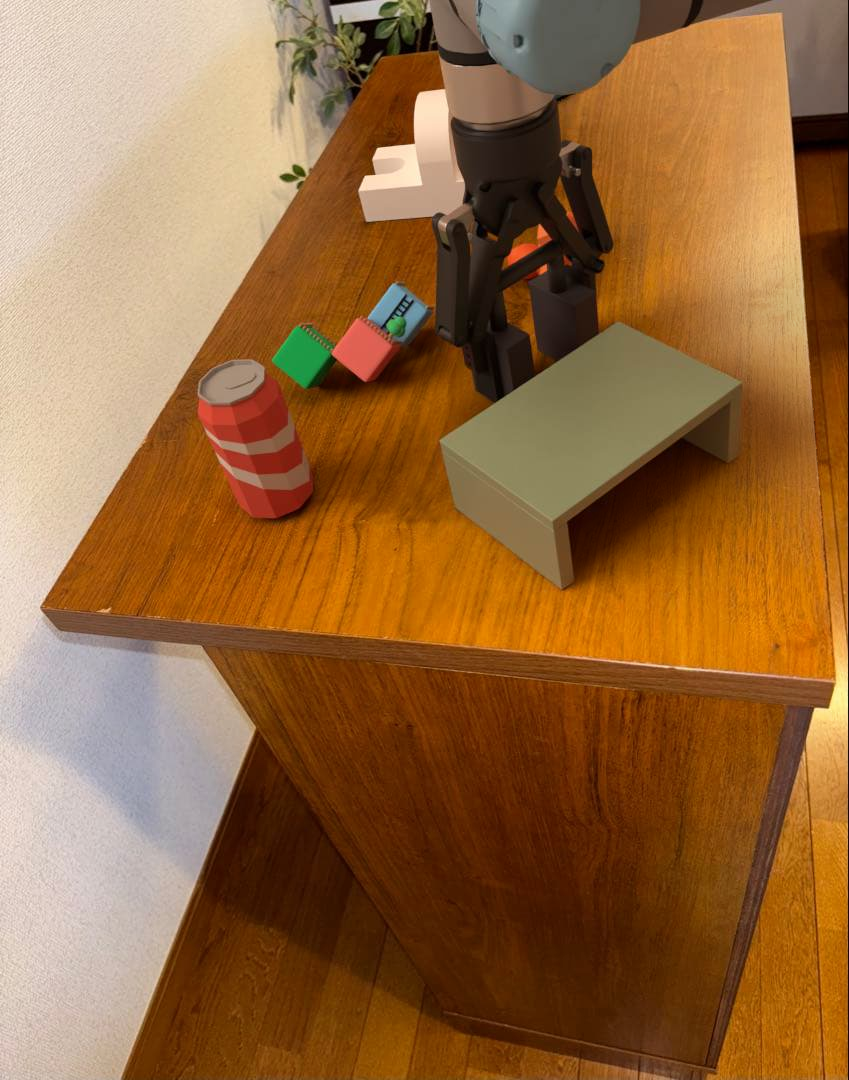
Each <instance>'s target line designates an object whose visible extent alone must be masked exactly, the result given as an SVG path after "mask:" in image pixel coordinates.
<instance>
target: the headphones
mask: <svg viewBox="0 0 849 1080" xmlns="http://www.w3.org/2000/svg"><path fill="white" fill-rule="evenodd" d="M562 250H563V247H562V244H561V242H559V241H558V240H550V241H549V242H547V243H545V244H544V245H542V246H540V247H539V248H537V249H535V250H534V251H532V252H530V253H529V254H527V255H526V256H524V257H522V258H521V259H519V260H517V261H516V262H514V263H512V264H511V265H509V266H508V265H507V266H506V267H504V268H502V270H501V274H500V278H499V282H498V286H497V290H496V294H495V298H494V302H493V306H492V310H491V314H490V318H489V322H488V326H487V330H486V331H487V332H489V333H491V334H492V335H494V336H495V344H496V350H497V356H498V362H499V368H500V374H501V380H502V386H503V392H504V397H505V396H507V395H508V394H510V393H511V392H513V391H514V390H516V389H517V388H519V387H520V386H522V385H523V384H525V383H526V382H528V381H529V380H531V379H532V378H534V377H535V376H536V370H535V364H534V363H535V362H534V355H533V349H532V340H531V334H530V333H528V332H527V331H525V330H523V329H521V328H519V327H517V326H516V325H513V324H512V323H510V322H509V321H508V316H507V310H506V305H505V304H506V303H505V297H504V291H506V290H507V289H509V288H510V287H511V286H513V285H515V284H517V283H518V282H520V281H521V280H524V279H523V278H524V277H526V276H528V275H529V274H531V273H533V272H534V271H536V270H537V269H539V268H541V267H542V266H544V265H545V264H547V271H546V272H544V273H542V274H541V275H538V276H537V277H535V278H532V279H530V280H529V281H528V289H529V296H530V297H529V298H530V305H531V312H532V321H533V328H534V334H535V342H536V350H537V351H538V352H540V353H542V354H544V355H545V356H548V357H549V358H551V359H553V360H554V361H556V362H558V361H559V360H561V359H562V358H564V357H565V356H567V355H568V354H570V353H571V352H573V351H574V350H576V349H577V348H579V347H580V346H582V345H583V344H585V343H586V342H588V341H589V340H591V339H592V338H594V337H595V336H597V335H598V334H600V327H599V314H598V299H597V290H596V291H594V290H592V289H590V288H588V287H586V286H583V285H581V284H579V283H577V282H575V281H573V280H571V279H569V278H567V277H566V276H565V266H564V256H563V252H562ZM471 376H472V382H473V385H474V391H476V392H477V393H479V392H478V391H477V385H476V380H475V375H474V372H473V371H471ZM479 394H480V395H482V394H481V393H479ZM482 396H483V397H485V396H484V395H482ZM490 401H491V402H493V401H492V400H490ZM493 404H495V402H493Z"/></svg>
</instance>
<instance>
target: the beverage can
mask: <svg viewBox="0 0 849 1080" xmlns="http://www.w3.org/2000/svg"><path fill="white" fill-rule="evenodd" d="M197 385H198V386H197V397H198V398H199V401H198V409H197V416H198V418H199V420H200V423H201V424H202V427H203V429H204V431H205V434H206V435H207V437H208V439H209V442H210V444H211V446H212V449H213V451H214V453H215V455H216V457H217V459H218V462H219V464H220V466H221V469H222V470H223V472H224V475H225V477H226V479H227V481H228V483H229V485H230V488H231V490H232V493H233V495H234V496H235V499H236V501H237V503H238V505H239V507H240V508H241V510H243V511H245V512H246V513H247V514H248V515H249V516H251V517H252V518H254V519H278V518H280V517H282V516H285V515H288V514H290V513H291V512H294V511H298V510H299V509H300V508H301V507H302V506H303V505H304V503H306V501H307V500H308V499H309V498H310V496H311V495H312V494H313V493H314V474H313V472H312V469H311V467H310V464H309V460H308V458H307V456H306V453H305V449H304V448H303V445H302V442H301V439H300V437H299V434H298V432H297V428H296V425H295V423H294V421H293V418H292V415H291V412H290V410H289V407H288V404H287V401H286V399H285V397H284V394H283V391H282V389H281V386H280V383H279V381H278V380H277V379H275V378H274V377H273V376H271V375H269V374H268V373H267V372H266V368H265V366H264V365H262V364H260V363H259V362H258V361H255V360H254V359H253V358H252V359H249V358H248V359H246V358H245V359H231V360H229V361H226V362H224V363H221V364H219V365H217V366H214V367H212V368H210V369H209V371H208V372H207V373H206V374H205V375H203V377H201V379H200V380H199V381H198V384H197Z"/></svg>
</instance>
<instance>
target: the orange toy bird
mask: <svg viewBox="0 0 849 1080" xmlns="http://www.w3.org/2000/svg"><path fill="white" fill-rule="evenodd" d="M566 211H567V214H566V215H567V217H568V218H569V219H570V221H571V222H572V223H573V225H574V226H575V228H576V229H577V230H578V228H577V225H576V222H575V219H574V216H573V213H572V211H569V210H566ZM537 226H538V227H537V236H536V240H537V244H535V243H528V242H526V243H525V242H524V243H522V244H519V245H517V246H515V247H512V250H511V253H510V255H509V256H507V257H506V261H507V267H508V266H509V265H511V264H512V263H514V262H516V261H517V260H519V259H521V258H522V257H524V256H526V255H527V254H529V253H530V252H532V251H534V250H535V249H537V248H539V247H540V246H542V245H544V244H545V243H547V242H549V241H550V240H552V239H551V238H550V236H549V235H548V234H547V233H546V231H545V230H544V229H543V227H542V226H541V225H540V224H539V225H537ZM578 232H579V231H578ZM563 256H564V255H563ZM567 264H568V265H570V266H572V262H569V261H568V260H567V258H566V257H565V256H564V266H565V265H567ZM546 271H547V264H545V265H544V266H542V267H541V268H539V269H537V270H536V271H534V272H533V273H531V274H529V275H528V276H526V277H524V278H523V279H522V280H533V279H534V278H536V277H537V276H539V275H541V274H542V273H544V272H546Z"/></svg>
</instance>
